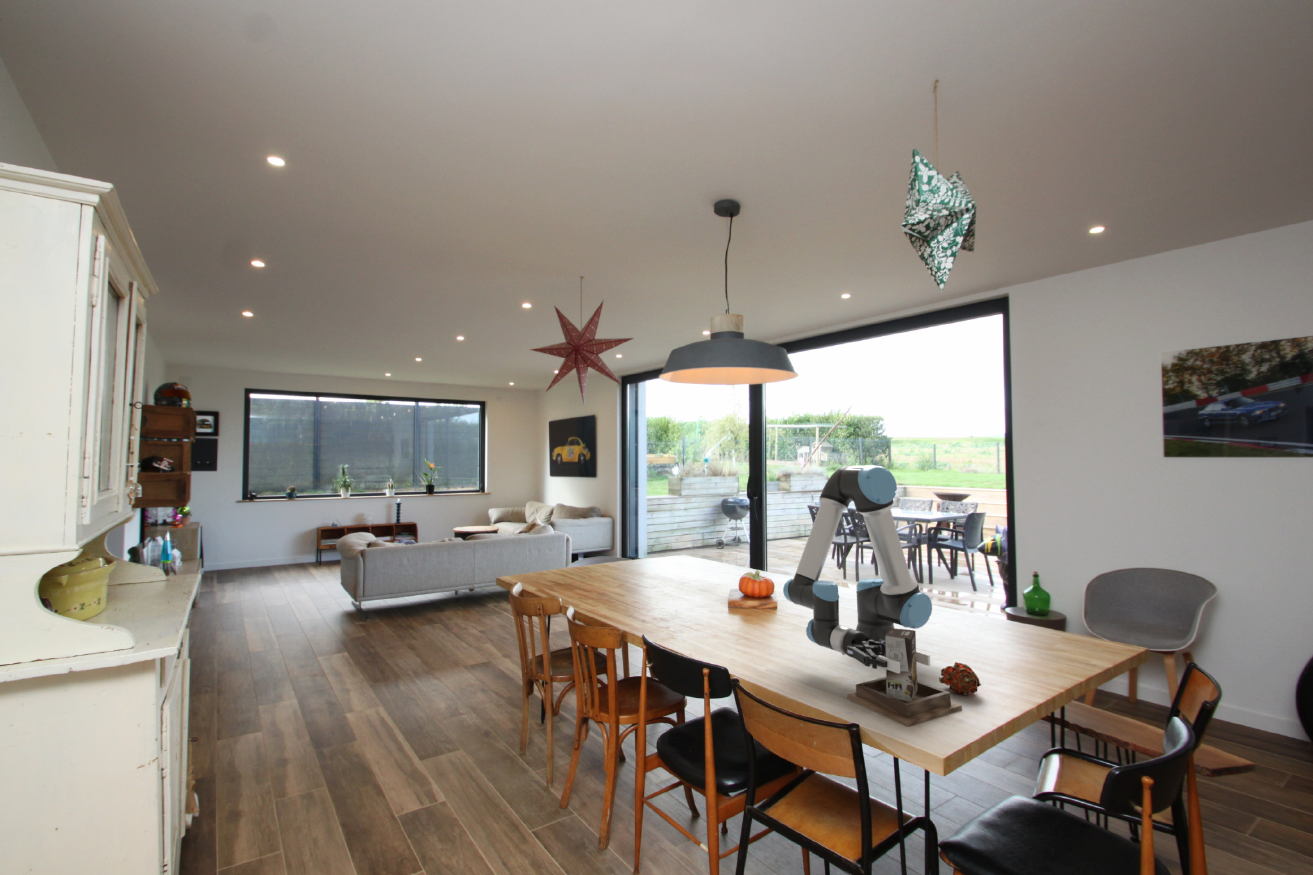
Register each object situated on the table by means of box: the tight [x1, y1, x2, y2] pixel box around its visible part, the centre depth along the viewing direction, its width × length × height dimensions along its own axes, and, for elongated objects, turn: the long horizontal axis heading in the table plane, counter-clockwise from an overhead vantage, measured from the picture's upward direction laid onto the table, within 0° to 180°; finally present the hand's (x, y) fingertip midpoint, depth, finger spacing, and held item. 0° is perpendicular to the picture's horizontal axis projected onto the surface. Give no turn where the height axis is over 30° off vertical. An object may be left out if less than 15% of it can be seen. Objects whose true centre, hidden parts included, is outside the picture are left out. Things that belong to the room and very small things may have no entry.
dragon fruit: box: [938, 661, 982, 696], centre depth 168 cm, size 8×8×12 cm
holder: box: [845, 676, 963, 727], centre depth 160 cm, size 20×20×4 cm
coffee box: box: [885, 627, 918, 702], centre depth 161 cm, size 9×6×16 cm
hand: (914, 664), depth 157 cm, fingers closed on coffee box, 11 cm apart
